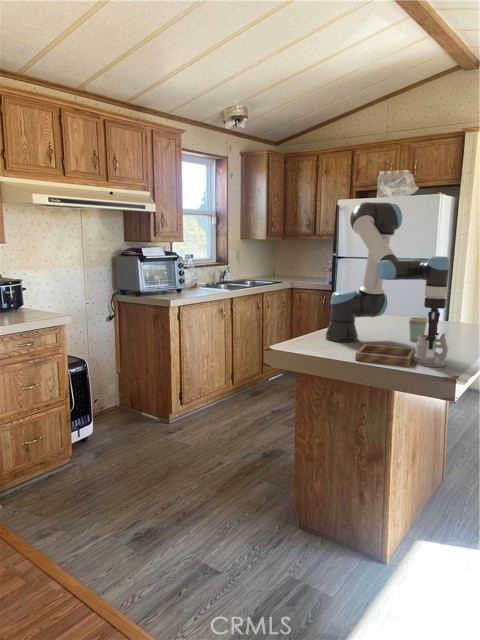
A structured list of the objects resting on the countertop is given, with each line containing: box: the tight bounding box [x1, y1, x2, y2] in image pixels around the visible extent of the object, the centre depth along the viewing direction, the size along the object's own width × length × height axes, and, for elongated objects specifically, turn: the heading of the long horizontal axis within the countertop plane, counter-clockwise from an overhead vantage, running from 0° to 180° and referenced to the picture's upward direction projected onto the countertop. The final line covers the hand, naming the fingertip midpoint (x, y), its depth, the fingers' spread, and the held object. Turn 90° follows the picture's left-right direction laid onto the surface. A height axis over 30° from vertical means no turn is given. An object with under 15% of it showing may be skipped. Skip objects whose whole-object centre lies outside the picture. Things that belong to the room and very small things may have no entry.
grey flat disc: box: [414, 359, 446, 368], centre depth 186 cm, size 11×11×1 cm
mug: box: [414, 333, 449, 364], centre depth 185 cm, size 8×12×12 cm, turn 57°
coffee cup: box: [408, 314, 428, 343], centre depth 228 cm, size 8×8×12 cm
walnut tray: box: [355, 343, 416, 367], centre depth 194 cm, size 20×18×3 cm
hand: (430, 354), depth 186 cm, fingers open, 10 cm apart
